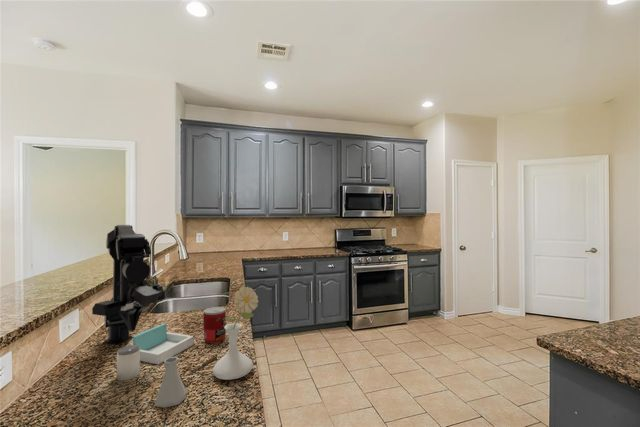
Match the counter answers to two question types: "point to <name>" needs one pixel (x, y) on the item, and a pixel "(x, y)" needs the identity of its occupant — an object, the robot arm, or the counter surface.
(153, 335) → the pusher
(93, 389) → the counter surface
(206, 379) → the counter surface
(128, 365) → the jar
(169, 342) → the lane
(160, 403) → the flask
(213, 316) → the canned food
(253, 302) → the flower in vase
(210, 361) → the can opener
